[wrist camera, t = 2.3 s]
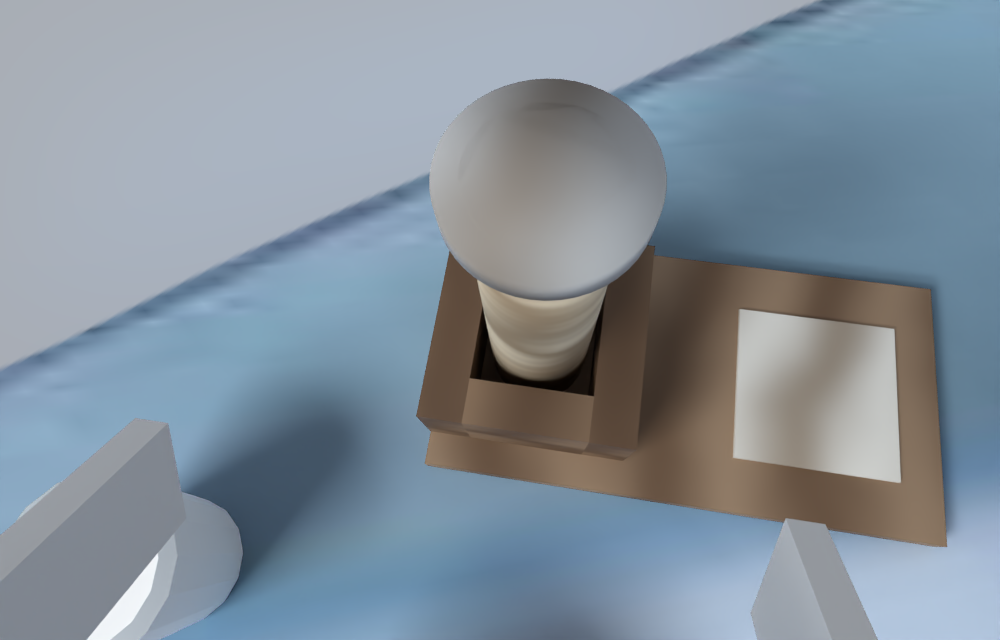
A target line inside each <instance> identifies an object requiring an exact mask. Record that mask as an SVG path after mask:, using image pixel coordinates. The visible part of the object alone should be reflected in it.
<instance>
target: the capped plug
mask: <svg viewBox="0 0 1000 640" xmlns="http://www.w3.org/2000/svg"><path fill="white" fill-rule="evenodd" d="M666 185H667V175H666V168H665V162H664V158H663V155H662V152H661V149H660V147H659V144H658V142H657V140H656V138H655V136H654V135H653V133H652V131H651V130H650V128H649V127H648V125H647V124H646V123H645V122H644V121H643V120H642V118H641V117H640V116H639V115H638V114H637V113H636V112H635V111H634V110H633V109H631V108H630V107H629V106H628V105H627V104H625V103H624V102H622V101H621V100H619V99H618V98H617V97H615V96H613V95H611V94H609V93H607V92H605V91H603V90H601V89H598V88H596V87H593V86H591V85H587V84H583V83H580V82H576V81H569V80H562V79H535V80H528V81H522V82H517V83H514V84H510V85H507V86H504V87H501V88H499V89H496V90H494V91H491V92H490V93H488V94H486V95H484V96H482V97H480V98H479V99H477V100H476V101H474V102H473V103H472V104H470V105H469V106H467V107H466V108H465V109H464V110H463V111H462V112H461V113H460V114H459V115H458V116H457V117H456V118H455V119H454V120H453V121H452V123H451V124H450V125H449V126H448V128H447V129H446V131H445V132H444V134H443V135H442V137H441V139H440V141H439V143H438V145H437V148H436V150H435V153H434V156H433V159H432V163H431V170H430V196H431V202H432V206H433V209H434V213H435V216H436V219H437V223H438V226H439V229H440V232H441V235H442V237H443V239H444V241H445V244H446V246H447V247H448V249H449V250H450V252H451V253H452V255H453V256H454V258H455V259H456V260H457V261H458V262H459V264H460V265H461V266H462V267H463V268H464V269H465V270H466V271H467V272H469V273H470V274H471V275H472V276H473V277H474V278H476V279H477V282H478V286H479V291H480V296H481V301H482V305H483V310H484V315H485V320H486V324H487V329H488V334H489V339H490V343H491V348H492V353H493V358H494V362H495V366H496V369H497V372H498V374H499V376H500V377H501V379H502V380H503V381H504V382H505V383H506V384H513V385H519V386H526V387H533V388H540V389H547V390H554V391H561V392H563V391H565V390H566V389H568V388H569V387H570V386H571V385H572V384H573V383H574V382H575V380H576V379H577V378H578V376H579V374H580V372H581V369H582V367H583V363H584V360H585V357H586V354H587V350H588V347H589V344H590V341H591V338H592V334H593V331H594V328H595V325H596V321H597V318H598V315H599V312H600V309H601V305H602V302H603V299H604V296H605V293H606V289H607V286H608V284H610V283H611V282H613V281H615V280H616V279H618V278H619V277H620V276H621V275H623V274H624V273H625V272H626V271H627V270H629V269H630V267H631V266H632V265H633V264H634V263H635V262H636V261H637V260H638V259H639V257H640V256H641V254H642V253H643V251H644V250H645V249H646V247H647V245H648V243H649V241H650V239H651V237H652V235H653V232H654V230H655V227H656V225H657V222H658V220H659V217H660V215H661V212H662V208H663V205H664V201H665V195H666Z"/></svg>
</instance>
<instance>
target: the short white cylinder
mask: <svg viewBox="0 0 1000 640" xmlns="http://www.w3.org/2000/svg"><path fill="white" fill-rule="evenodd" d="M60 483H61V482H60ZM60 483H57V484H56V485H54V486H53V487H52V488H50V489H49V490H48V491H47V492H45V493H44V494H43V495H41V496H40V497H39V498H37V499H36V500H35V501H34V502H32V503H31V504H30V505H28V506H27V507H26V508H25V509H24V511H23V512H22V513H21V515H20V516H19V518H18V519H17V520H19V519H20V518H21V517H22V516H23V515H24V514H25V513H27V512H28V511H29V510H30V509H31V508H32V507H34V506H35V505H36V504H37V503H38V502H39V501H40V500H42V499H43V498H44V497H45V496H46V495H47V494H48V493H50V492H51V491H52V490H53V489H54V488H55V487H57V486H58V485H59V484H60ZM181 493H182V498H183V503H184V508H185V513H186V519H185V521H184V522H183V523H182V524H181V525H180V527H179V528H178V529H177V530H176V532H175V533H174V534H173V535H172V536H171V538H170V539H169V540H168V541H167V542H166V544H165V545H164V546H163V547H162V549H161V550H160V551H159V552H158V553H157V555H156V556H155V557H154V558H153V560H152V561H151V562H150V563H149V564H148V566H147V567H146V568H145V569H144V571H143V572H142V573H141V574H140V575H139V577H138V578H137V579H136V580H135V582H134V583H133V584H132V585H131V586H130V588H129V589H128V590H127V591H126V592H125V594H124V595H123V596H122V597H121V599H120V600H119V601H118V602H117V603H116V605H115V606H114V607H113V608H112V610H111V611H110V612H109V613H108V614H107V616H106V617H105V618H104V619H103V621H102V622H101V623H100V624H99V625H98V627H97V628H96V629H95V630H94V631H93V633H92V634H91V635H90V636H89V638H88V639H87V640H160V639H162V638H164V637H166V636H168V635H170V634H173V633H175V632H177V631H179V630H181V629H183V628H185V627H188V626H190V625H192V624H194V623H196V622H198V621H200V620H203V619H205V618H206V617H207V616H208V615H209V614H211V613H212V612H213V611H214V610H215V609H216V608H218V607H219V606H220V605H221V604H222V603H223V602H225V600H226V598H227V597H228V595H229V593H230V592H231V590H232V588H233V586H234V585H235V583H236V581H237V579H238V577H239V572H240V567H241V562H242V556H243V549H242V543H241V538H240V532H239V528H238V527H237V525H236V524H235V522H234V521H233V520H232V518H231V517H230V515H229V514H228V512H227V511H226V510H225V509H223V508H221V507H219V506H218V505H216V504H214V503H212V502H211V501H209V500H206V499H203V498H200V497H197V496H194V495H190V494H187V493H184V492H181Z"/></svg>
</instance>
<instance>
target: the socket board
mask: <svg viewBox="0 0 1000 640" xmlns="http://www.w3.org/2000/svg"><path fill="white" fill-rule="evenodd" d="M654 250H655V246H649V245H647V247H646V249H645V250H644V251H643V253H642V254H641V256H640V257H639V259H638V260H637V261H636V262H635V263H634V264H633V265H632V266H631V267H630V269H629V270H627V271H626V272H625V273H624V274H623V275H621V276H620V277H619V278H618V279H616V280H615V281H613V282H611V283H610V284H608V286H607V289H606V293H605V296H604V299H603V302H602V305H601V309H600V312H599V315H598V318H597V321H596V325H595V328H594V331H593V334H592V338H591V341H590V344H589V347H588V350H587V354H586V357H585V360H584V363H583V367H582V369H581V372H580V374H579V376H578V378H577V379H576V380H575V382H574V383H573V384H572V385H571V386H570V387H569V388H568V389H566V390H565V391H563V392H561V391H554V390H547V389H540V388H533V387H526V386H519V385H513V384H506V383H505V382H504V381H503V380H502V379H501V377H500V376H499V374H498V372H497V369H496V366H495V362H494V358H493V353H492V348H491V343H490V339H489V334H488V329H487V324H486V320H485V315H484V310H483V305H482V301H481V296H480V291H479V286H478V282H477V279H476V278H474V277H473V276H472V275H471V274H470V273H469V272H467V271H466V270H465V269H464V268H463V267H462V266H461V265H460V264H459V262H458V261H457V260H456V259H455V258H454V256H453V255H452V253H451V252H449V257H448V262H447V267H446V272H445V277H444V282H443V287H442V292H441V296H440V301H439V306H438V311H437V316H436V321H435V326H434V331H433V336H432V341H431V346H430V351H429V356H428V361H427V366H426V371H425V376H424V381H423V385H422V390H421V395H420V400H419V405H418V410H417V415H416V417H417V418H418V419H419V420H420V421H421V422H422V423H423V424H424V425H425V426H426V427H427V428H428V429H429V430H430V431H431V434H430V439H429V444H428V449H427V454H426V459H425V464H426V465H428V466H434V467H440V468H446V469H452V470H459V471H465V472H471V473H477V474H484V475H490V476H496V477H502V478H508V479H515V480H521V481H527V482H533V483H540V484H546V485H552V486H558V487H565V488H571V489H577V490H583V491H590V492H596V493H602V494H608V495H615V496H621V497H627V498H633V499H640V500H646V501H652V502H658V503H665V504H671V505H677V506H683V507H690V508H696V509H702V510H708V511H715V512H721V513H727V514H733V515H740V516H746V517H752V518H758V519H765V520H771V521H777V522H783V523H784V521H785V519H786V518H788V519H795V520H801V521H808V522H814V523H821V524H825V525H826V527H827V529H828V530H833V531H840V532H846V533H852V534H858V535H865V536H871V537H877V538H883V539H890V540H896V541H902V542H908V543H915V544H921V545H927V546H935V547H947V539H946V523H945V507H944V492H943V476H942V460H941V444H940V428H939V412H938V397H937V381H936V365H935V349H934V333H933V318H932V302H931V289H923V288H915V287H907V286H899V285H891V284H883V283H875V282H867V281H859V280H850V279H842V278H834V277H826V276H818V275H810V274H802V273H794V272H785V271H777V270H769V269H761V268H753V267H745V266H737V265H729V264H721V263H712V262H704V261H696V260H688V259H680V258H672V257H664V256H656V255H654Z"/></svg>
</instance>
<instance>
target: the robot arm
mask: <svg viewBox="0 0 1000 640" xmlns="http://www.w3.org/2000/svg"><path fill="white" fill-rule="evenodd" d="M185 519H186V513H185V508H184V503H183V498H182V493H181V487H180V482H179V477H178V472H177V467H176V461H175V456H174V451H173V446H172V440H171V435H170V430H169V425H168V423H164V422H157V421H151V420H144V419H138V418H135V419H134V420H133V421H132V422H130V423H129V424H128V425H127V426H126V427H125V428H123V429H122V430H121V431H120V432H119V433H118V434H117V435H115V436H114V437H113V438H112V439H111V440H110V441H108V442H107V443H106V444H105V445H104V446H103V447H102V448H100V449H99V450H98V451H97V452H96V453H95V454H93V455H92V456H91V457H90V458H89V459H88V460H87V461H85V462H84V463H83V464H82V465H81V466H80V467H78V468H77V469H76V470H75V471H74V472H73V473H72V474H70V475H69V476H68V477H67V478H66V479H65V480H63V481H62V482H61V483H60V484H59V485H58V486H57V487H55V488H54V489H53V490H52V491H51V492H50V493H48V494H47V495H46V496H45V497H44V498H43V499H42V500H40V501H39V502H38V503H37V504H36V505H35V506H34V507H32V508H31V509H30V510H29V511H28V512H27V513H25V514H24V515H23V516H22V517H21V518H20V519H19V520H17V521H16V522H15V523H14V524H13V525H12V526H10V527H9V528H8V529H7V530H6V531H5V532H4V533H2V534H1V535H0V640H87V639H88V638H89V636H90V635H91V634H92V633H93V631H94V630H95V629H96V628H97V627H98V625H99V624H100V623H101V622H102V621H103V619H104V618H105V617H106V616H107V614H108V613H109V612H110V611H111V610H112V608H113V607H114V606H115V605H116V603H117V602H118V601H119V600H120V599H121V597H122V596H123V595H124V594H125V592H126V591H127V590H128V589H129V588H130V586H131V585H132V584H133V583H134V582H135V580H136V579H137V578H138V577H139V575H140V574H141V573H142V572H143V571H144V569H145V568H146V567H147V566H148V564H149V563H150V562H151V561H152V560H153V558H154V557H155V556H156V555H157V553H158V552H159V551H160V550H161V549H162V547H163V546H164V545H165V544H166V542H167V541H168V540H169V539H170V538H171V536H172V535H173V534H174V533H175V532H176V530H177V529H178V528H179V527H180V525H181V524H182V523H183V522H184V521H185ZM751 616H752V620H753V624H754V628H755V632H756V636H757V639H758V640H878V639H877V637H876V635H875V632H874V630H873V628H872V626H871V624H870V621H869V619H868V617H867V615H866V613H865V610H864V608H863V606H862V604H861V602H860V599H859V597H858V595H857V593H856V591H855V588H854V586H853V584H852V582H851V580H850V577H849V575H848V573H847V571H846V569H845V566H844V564H843V562H842V560H841V558H840V555H839V553H838V551H837V549H836V547H835V544H834V542H833V540H832V538H831V536H830V533H829V531H828V529H827V527H826V525H825V524H821V523H814V522H808V521H801V520H795V519H788V518H786V519H785V521H784V524H783V527H782V530H781V532H780V535H779V538H778V540H777V543H776V546H775V548H774V551H773V554H772V556H771V559H770V562H769V564H768V567H767V570H766V573H765V575H764V578H763V581H762V583H761V586H760V589H759V591H758V594H757V597H756V599H755V602H754V605H753V608H752V610H751Z"/></svg>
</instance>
